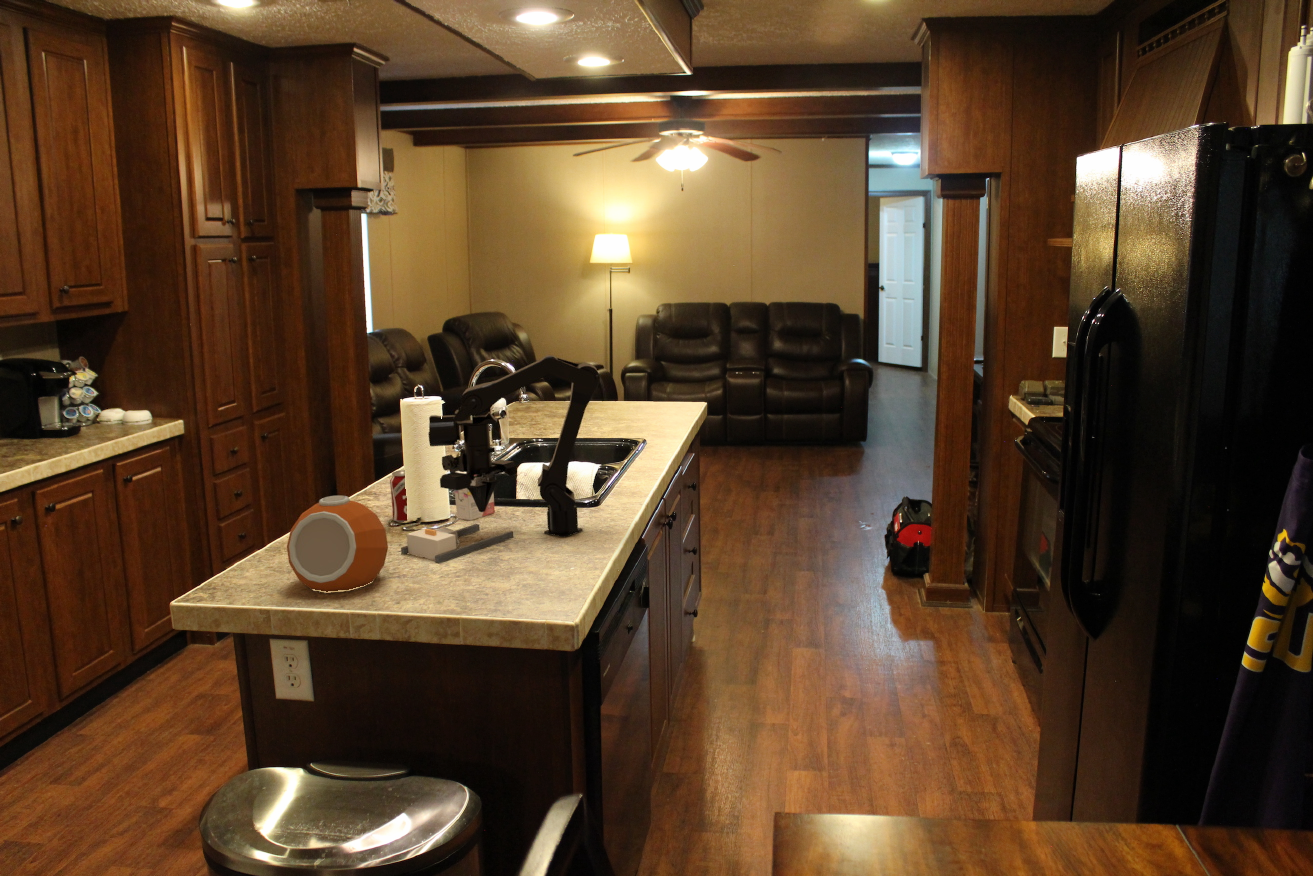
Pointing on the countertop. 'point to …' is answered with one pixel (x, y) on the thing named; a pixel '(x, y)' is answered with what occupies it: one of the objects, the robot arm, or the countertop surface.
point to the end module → (430, 543)
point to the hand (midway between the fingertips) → (482, 511)
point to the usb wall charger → (449, 533)
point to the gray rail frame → (469, 547)
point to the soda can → (398, 496)
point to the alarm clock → (337, 545)
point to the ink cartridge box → (470, 505)
